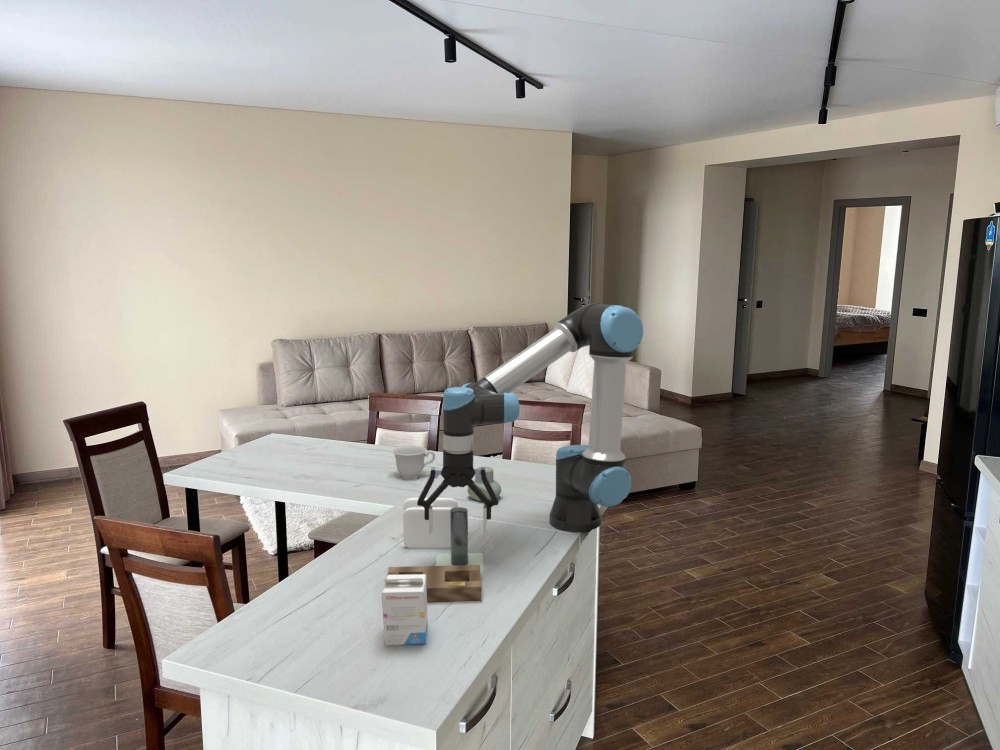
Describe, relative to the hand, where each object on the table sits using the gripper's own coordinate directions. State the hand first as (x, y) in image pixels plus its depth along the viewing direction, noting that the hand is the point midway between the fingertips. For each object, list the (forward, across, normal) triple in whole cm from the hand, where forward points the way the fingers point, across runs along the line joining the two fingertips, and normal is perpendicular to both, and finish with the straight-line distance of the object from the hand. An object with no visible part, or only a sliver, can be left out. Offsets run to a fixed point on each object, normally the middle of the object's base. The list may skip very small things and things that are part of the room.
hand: (457, 531), depth 186 cm
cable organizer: (+9, +8, -15) cm, 19 cm away
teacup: (+9, +16, -75) cm, 77 cm away
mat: (+9, 0, 0) cm, 9 cm away
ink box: (+10, +10, +34) cm, 37 cm away
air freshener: (+9, -8, -51) cm, 53 cm away
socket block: (+9, +6, +14) cm, 17 cm away
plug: (+8, 0, 0) cm, 8 cm away
